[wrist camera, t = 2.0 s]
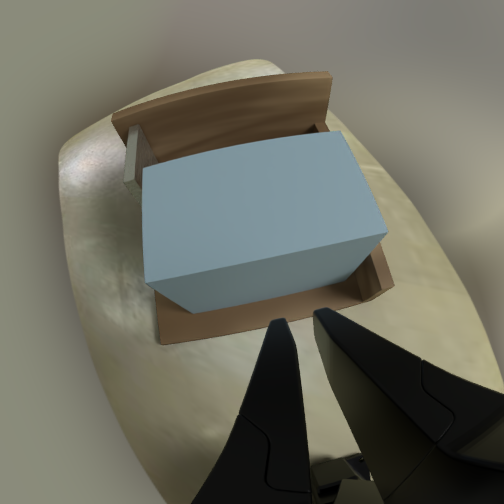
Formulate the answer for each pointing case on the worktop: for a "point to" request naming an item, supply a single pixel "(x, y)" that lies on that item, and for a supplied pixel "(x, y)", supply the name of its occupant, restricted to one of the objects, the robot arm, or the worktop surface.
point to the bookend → (137, 161)
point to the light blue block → (256, 221)
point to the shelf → (235, 133)
